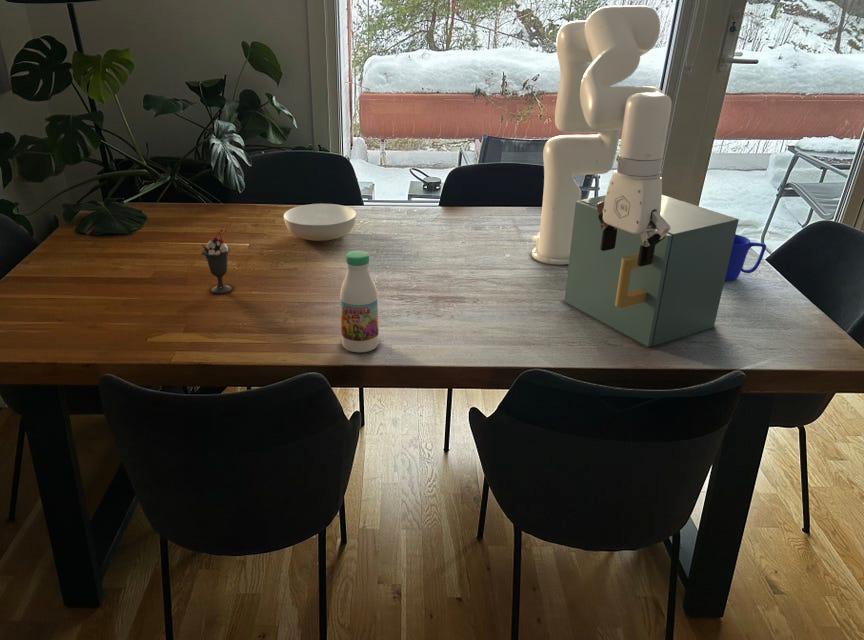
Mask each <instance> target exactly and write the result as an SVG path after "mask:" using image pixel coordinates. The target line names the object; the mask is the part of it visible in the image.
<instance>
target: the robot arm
mask: <svg viewBox="0 0 864 640" xmlns="http://www.w3.org/2000/svg"><path fill="white" fill-rule="evenodd" d="M660 33H661V21H660V17H659V14H658V13H657V11H656V9H654V8H653V7H651V6H649V5H608V6H603V7H600V8H597V9H596V10H594V11H593V12H591V13H590V14H589V16H588V17H587V19H586V20H573V21H568V22H566V23H563V24H562V26H560V28H559V30H558V32H557V35H556V44H555V45H556V54H557V60H558V64H559V72H560V73H559V82H558V89H557V96H556V103H555V111H554V125H555V127H556V128H557V130H558V131H561V132H562V133H563V132H564V133H568V134H564V135H556V136H554V137H552V138H550V139H548V140H547V141H546V142H545V144H544V147H543V151H542V152H543V153H542V158H543V159H542V160H543V176H544V178H543V192H542V193H543V194H542V205H541V215H540V225H539V232H537V233H536V235H534V236H532V238H531V241H532V242H534V243H536V244H535V245H536V246H535V247H534V248H533V249H532V250H531V257H532V258H533V259H534V260H536V261H538V262H540V263H543V264H548V265H555V266H556V265H558V266H560V265H561V266H562V265H569V257H570V248H571V239H572V231H573V222H574V214H575V205H576V201H580V200H582V191H581V187H580V185H579V184H578V183H577V182H576V180H575V179H574V176H581V175H583V176H585V175H603V174H604V175H605V174H607V173H609V172H610V171H611V170H612V169H613V167H614V164H615V161H616V162H617V165H616V169H615V170H613V172H612V174H611V177H610V179H609V183H608V186H607V190H606V194H605V195H606V199H605V201H603V202H600V203H598V204H597V209H598V214H599V216H598V218H599V220H600V222H601V229H602V230H603V233H602V241H601V248H600V249H601V250H602V251H606V250H610V249H614V248H615V243H616V236H617V229H616V228H619V229H621V230H624V231H627V232H629V233H632V234H640V237H641V239H642V242H643V244H644V245H641V246H640V250H639V257H638V263H637V264H638V266H640V267H641V266H645V265H650V264H652V262H653V256H654V250H655V245H656V244H659V242H660V241H661V240H663V239H664V238H665V235H666V234H667V233H668V231H669V230H670V225H669V224H668V223H667V222H666V221H665V220H664V219H663V217H662V216H661V215H660V211H661V201H662V195H663V177H662V176H661V172H662V166H663V160H664V154H665V147H666V141H667V135H668V131H669V130H668V129H669V124H670V118H671V112H672V104H673V102H672V98H671V97H670V96H669V95H667V94H665V93H664V92H663V91H662V90H661V88H659V87H657V86H652V85H651V86H650V85H639V86H637V85H635V86H634V85H627V86H626V85H621V86H620V85H619V86H617V84H619V83H622V82H623V81H625V80H627V79H628V78H629V77H631V76H632V75H633V74H634V73H635V72H636V70H637V69H638V67H639V64H640V63H641V62H640V61H641V57H642V56H644V55H646V54H647V53H649V52H650V51H651V50H652V49H653V48H654V47H655V46H656V44H657V42H658V40H659V37H660ZM614 85H616V86H614ZM569 133H570V134H569ZM572 133H573V134H572ZM581 133H583V134H581ZM585 133H587V134H585ZM589 133H592V134H589ZM593 133H597V134H593ZM619 141H620V144H619ZM618 145H619V150H618ZM617 150H618V151H619V152H618V155H617ZM616 155H617V156H616ZM615 227H616V228H615ZM657 227H658V230H657V233H656V231H655V230H656V229H657ZM647 233H649V235H650V238H649V237H648V235H647Z"/></svg>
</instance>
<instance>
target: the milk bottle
mask: <svg viewBox="0 0 864 640" xmlns="http://www.w3.org/2000/svg"><path fill="white" fill-rule="evenodd" d="M345 265H346V268H347V269H346V274H345V276H344V279H343V281H342V284H341V287H340V293H339V299H340V300H339V307H340V308H339V310H340V331H341V333H340V334H341V344H342V345H341V346H343V348H344V349H345V350H347V351H349V352H351V353H352V352H353V353H368V352H371V351H373V350H375V349H376V348H377V347H378V345H379V343H380V342H379V341H380V327H379V326H380V325H379V324H380V323H379V321H380V320H379V297H378V296H379V295H378V289H377V285H376V283H375V280H374V279H373V277H372V275H371V273H370V269H369V266H370V254H369V252H367V251H363V250H353V251H350V252H347V253H346V254H345Z"/></svg>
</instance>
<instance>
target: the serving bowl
mask: <svg viewBox="0 0 864 640" xmlns="http://www.w3.org/2000/svg"><path fill="white" fill-rule="evenodd" d="M283 221H284V224H285V226H286V228H287V229H288V231H289V232H290V234H292V235H294V236H295V237H297V238H300V239H302V240H305V241H306V240H307V241H313V242H327V241H332V240H335V239H339V238H341V237H344V236H345V235H348V233H350V232H351V231H352V229H353V228H354V226H355V224H356V221H357V212H356V210H355V209H353V208H351V207H349V206H346V205H341V204H334V203H311V204H304V205H299V206H295V207H292V208H290V209H288V210H287V211H285V212H284V213H283Z"/></svg>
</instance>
